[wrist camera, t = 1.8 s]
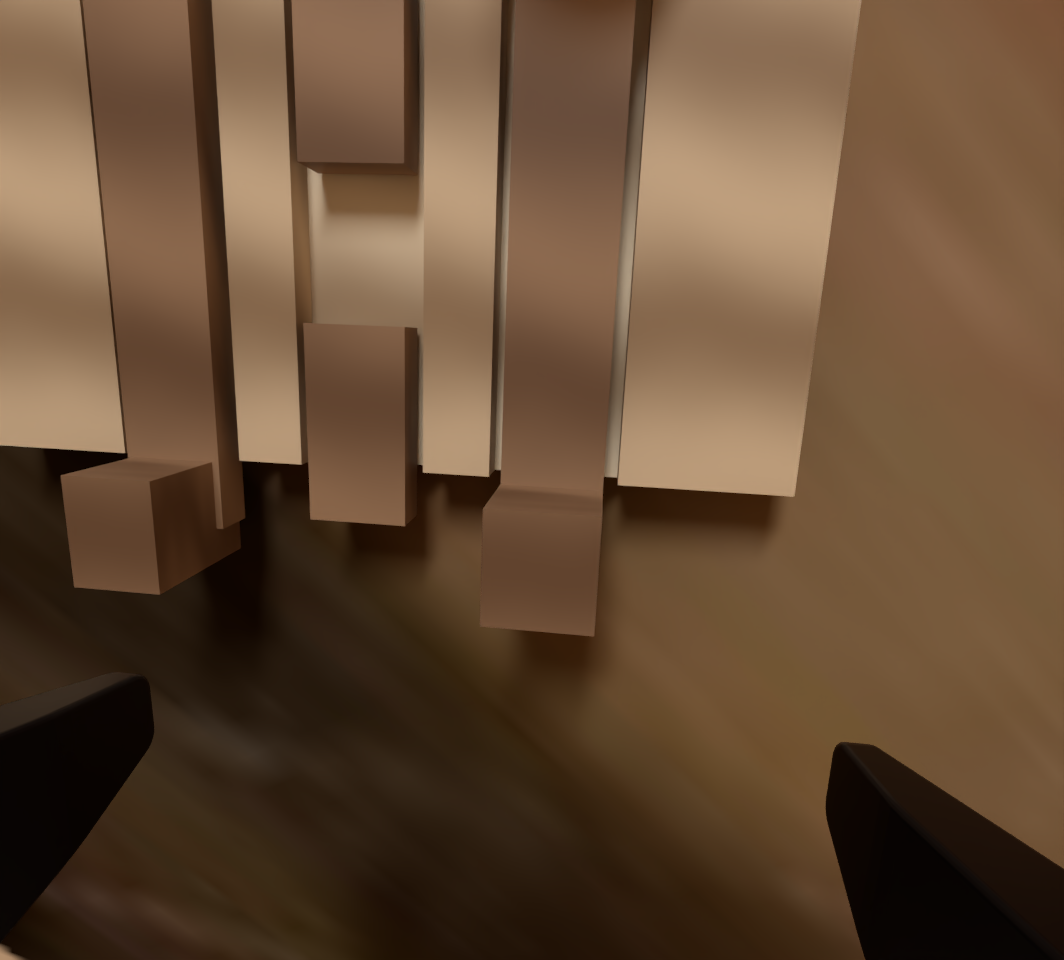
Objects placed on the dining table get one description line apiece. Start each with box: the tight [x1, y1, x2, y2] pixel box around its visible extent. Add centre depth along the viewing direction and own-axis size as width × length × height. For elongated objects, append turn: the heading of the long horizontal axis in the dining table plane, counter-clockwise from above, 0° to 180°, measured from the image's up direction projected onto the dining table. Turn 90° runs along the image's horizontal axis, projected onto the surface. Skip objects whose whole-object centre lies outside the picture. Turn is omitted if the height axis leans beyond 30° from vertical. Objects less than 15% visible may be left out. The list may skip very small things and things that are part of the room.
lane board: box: [0, 0, 861, 526], centre depth 17 cm, size 22×24×2 cm
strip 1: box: [61, 0, 245, 595], centre depth 16 cm, size 22×3×4 cm, turn 178°
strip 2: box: [480, 0, 636, 637], centre depth 15 cm, size 22×3×4 cm, turn 178°
